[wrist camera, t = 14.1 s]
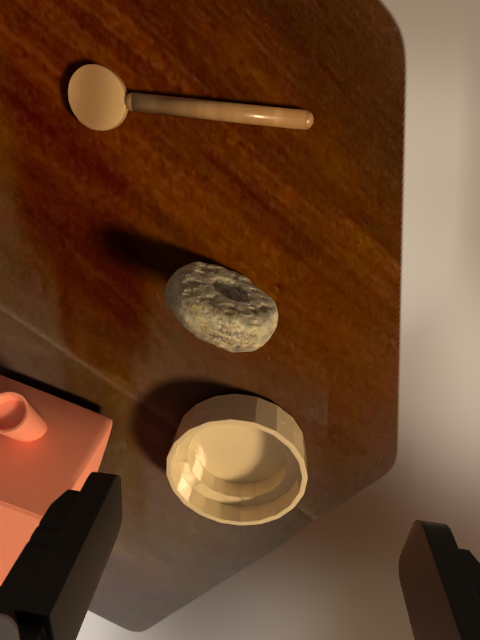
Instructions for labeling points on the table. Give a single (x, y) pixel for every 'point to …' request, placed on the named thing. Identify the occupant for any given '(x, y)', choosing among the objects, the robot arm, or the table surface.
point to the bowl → (238, 460)
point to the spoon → (162, 104)
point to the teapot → (41, 459)
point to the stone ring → (221, 307)
